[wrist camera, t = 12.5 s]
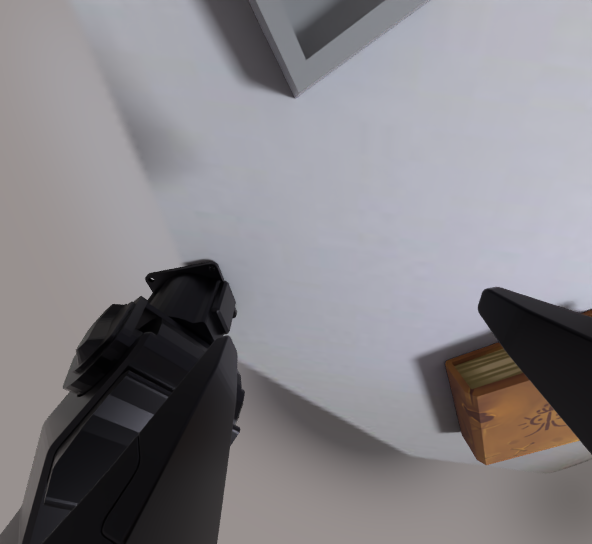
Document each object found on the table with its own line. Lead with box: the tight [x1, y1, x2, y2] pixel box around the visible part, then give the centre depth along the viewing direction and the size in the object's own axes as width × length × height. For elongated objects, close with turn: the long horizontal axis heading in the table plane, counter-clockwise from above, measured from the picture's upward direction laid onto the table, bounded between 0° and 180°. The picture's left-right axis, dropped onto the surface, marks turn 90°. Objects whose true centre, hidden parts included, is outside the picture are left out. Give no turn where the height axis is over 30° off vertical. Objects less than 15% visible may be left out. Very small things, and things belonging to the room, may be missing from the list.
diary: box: [445, 310, 592, 465], centre depth 34 cm, size 23×19×6 cm
